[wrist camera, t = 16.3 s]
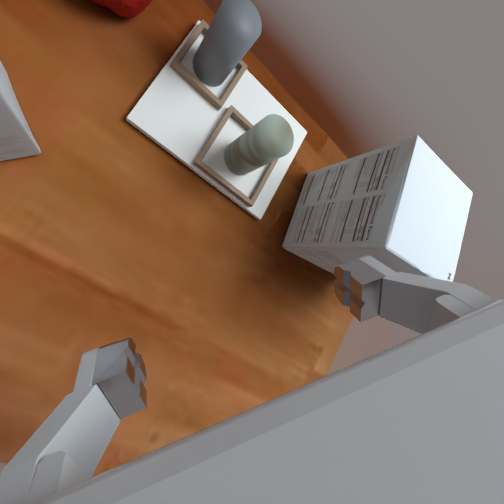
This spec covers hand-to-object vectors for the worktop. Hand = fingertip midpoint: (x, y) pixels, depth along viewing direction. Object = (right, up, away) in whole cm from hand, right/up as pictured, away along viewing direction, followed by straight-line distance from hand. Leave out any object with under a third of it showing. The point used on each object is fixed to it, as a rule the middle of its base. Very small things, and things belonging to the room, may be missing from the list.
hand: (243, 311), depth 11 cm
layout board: (-3, +19, +27) cm, 33 cm away
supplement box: (+12, +6, +36) cm, 38 cm away
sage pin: (-1, +15, +27) cm, 31 cm away
